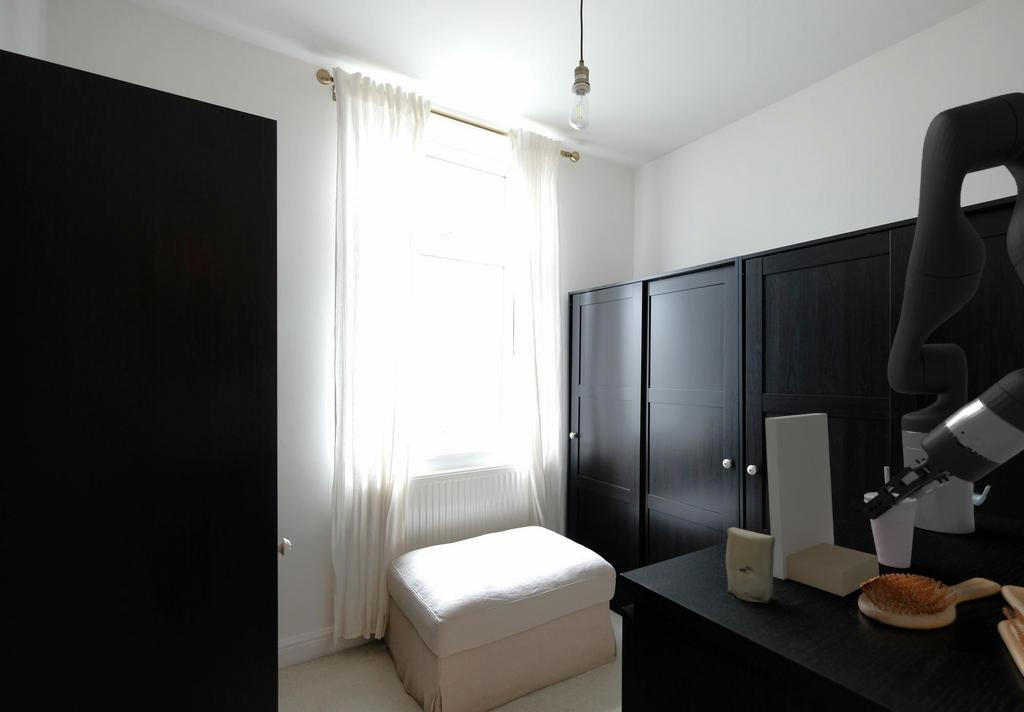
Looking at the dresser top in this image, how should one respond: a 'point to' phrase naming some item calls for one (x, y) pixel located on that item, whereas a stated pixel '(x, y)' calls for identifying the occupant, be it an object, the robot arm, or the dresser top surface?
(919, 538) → the dresser top surface
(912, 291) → the robot arm
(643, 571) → the dresser top surface
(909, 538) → the smoothie
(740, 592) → the cream rounded block
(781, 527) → the wall board
